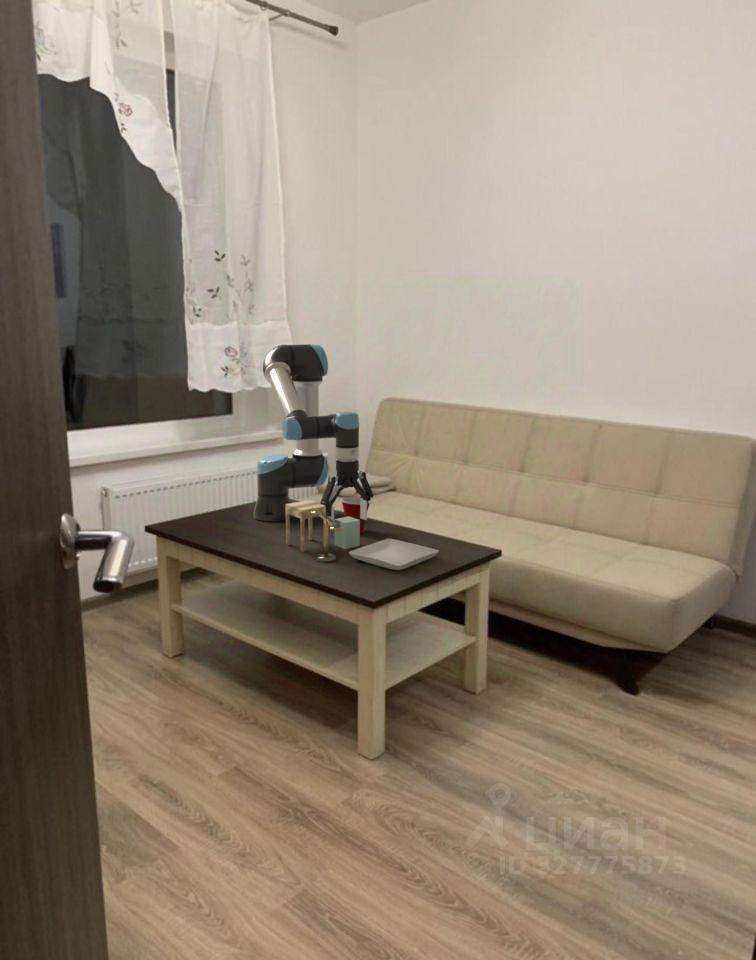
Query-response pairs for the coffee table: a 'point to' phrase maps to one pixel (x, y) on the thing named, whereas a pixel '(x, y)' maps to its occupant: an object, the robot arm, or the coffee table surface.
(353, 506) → the plastic cup
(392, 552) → the salad plate
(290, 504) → the wooden stool
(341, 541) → the block
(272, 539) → the coffee table surface
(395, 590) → the coffee table surface
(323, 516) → the balance
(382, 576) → the coffee table surface
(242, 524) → the coffee table surface
